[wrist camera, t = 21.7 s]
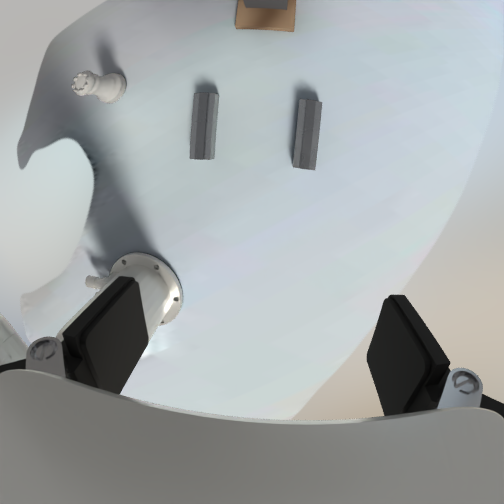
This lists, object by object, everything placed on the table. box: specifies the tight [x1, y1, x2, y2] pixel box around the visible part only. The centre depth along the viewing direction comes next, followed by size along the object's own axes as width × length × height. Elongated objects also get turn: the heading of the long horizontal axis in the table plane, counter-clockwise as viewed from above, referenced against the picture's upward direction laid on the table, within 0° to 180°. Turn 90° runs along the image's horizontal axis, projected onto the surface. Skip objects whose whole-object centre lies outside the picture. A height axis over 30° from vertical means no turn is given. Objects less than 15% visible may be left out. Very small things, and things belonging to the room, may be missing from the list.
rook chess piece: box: [72, 71, 126, 103], centre depth 26 cm, size 4×4×8 cm
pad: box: [235, 0, 296, 32], centre depth 24 cm, size 7×7×1 cm
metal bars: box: [190, 93, 322, 170], centre depth 30 cm, size 14×8×2 cm, turn 85°
